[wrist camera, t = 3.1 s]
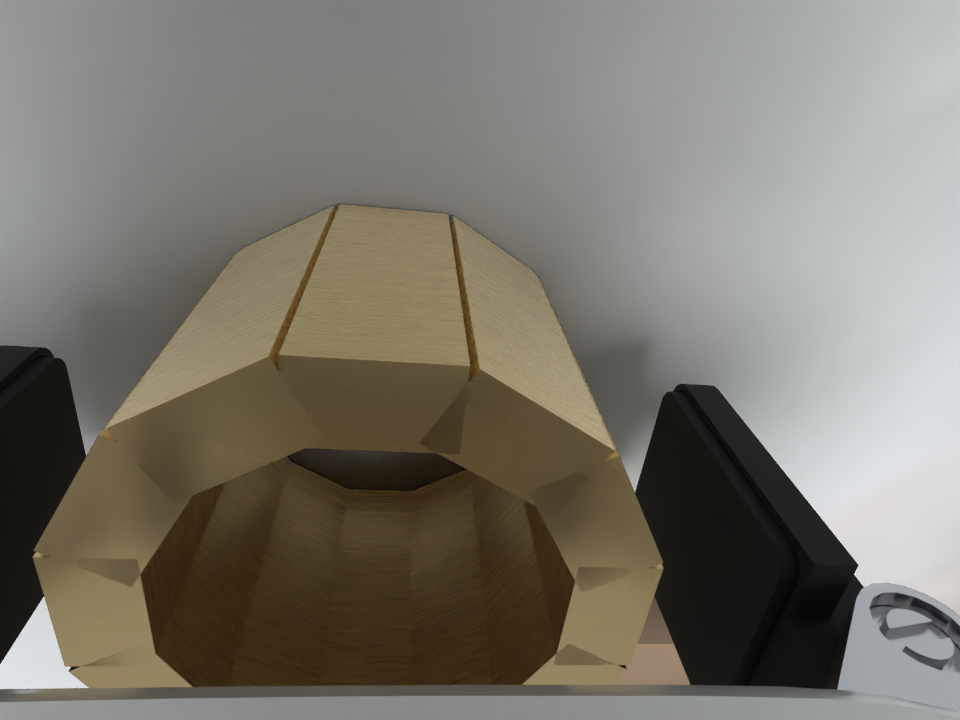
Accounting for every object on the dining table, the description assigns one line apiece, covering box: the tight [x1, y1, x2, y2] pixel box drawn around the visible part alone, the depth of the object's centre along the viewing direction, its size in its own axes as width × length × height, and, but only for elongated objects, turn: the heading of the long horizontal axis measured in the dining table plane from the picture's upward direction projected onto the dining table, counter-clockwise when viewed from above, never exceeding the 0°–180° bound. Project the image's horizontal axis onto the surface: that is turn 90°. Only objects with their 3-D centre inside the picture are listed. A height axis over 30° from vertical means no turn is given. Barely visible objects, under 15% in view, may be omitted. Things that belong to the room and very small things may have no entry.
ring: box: [33, 204, 663, 688], centre depth 9 cm, size 7×7×5 cm
